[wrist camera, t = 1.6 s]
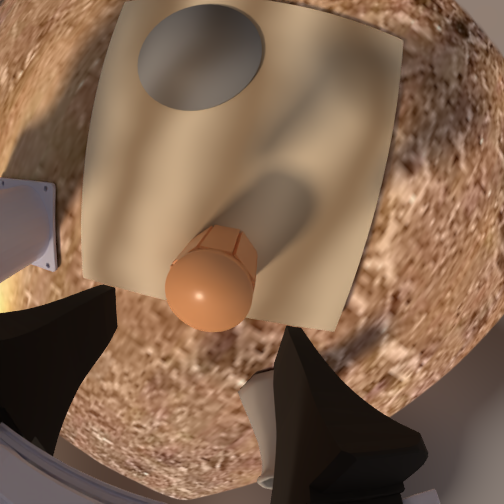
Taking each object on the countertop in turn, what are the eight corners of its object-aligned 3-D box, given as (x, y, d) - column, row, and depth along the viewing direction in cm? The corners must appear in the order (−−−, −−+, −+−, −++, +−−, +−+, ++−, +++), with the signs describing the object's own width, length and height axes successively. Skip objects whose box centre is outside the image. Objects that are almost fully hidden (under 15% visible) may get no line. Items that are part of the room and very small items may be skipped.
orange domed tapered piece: (186, 282, 19) (163, 321, 14) (193, 220, 17) (168, 244, 13) (248, 295, 19) (243, 339, 14) (262, 233, 18) (260, 262, 13)
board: (92, 270, 21) (54, 300, 16) (132, 9, 14) (100, -20, 8) (330, 321, 21) (346, 366, 16) (394, 46, 14) (430, 20, 9)
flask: (287, 353, 22) (295, 454, 13) (329, 394, 24) (346, 480, 15) (224, 388, 24) (209, 478, 15) (271, 422, 26) (270, 502, 16)
